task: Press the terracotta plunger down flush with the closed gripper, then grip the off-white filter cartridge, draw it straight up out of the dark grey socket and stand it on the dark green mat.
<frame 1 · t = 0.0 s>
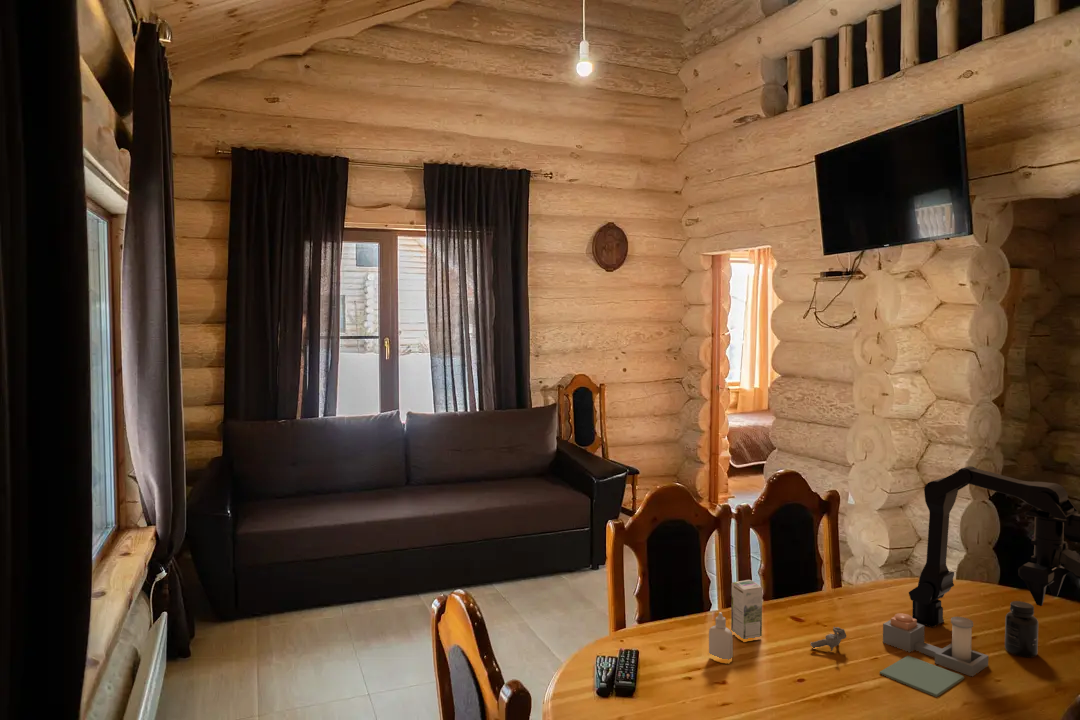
hand: (1047, 600, 175), 15 cm above the table, tool pointing down, fingers open, 9 cm apart
elephant figurine: (830, 652, 183), on the table
filter cartridge: (961, 664, 175), resting in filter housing
syrup box: (746, 638, 192), on the table
eye dropper bottle: (720, 661, 180), on the table
green mat: (921, 676, 170), on the table
plunger: (903, 627, 186), point 4 cm above the table, slide at 0.0 cm
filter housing: (961, 664, 175), on the table
supplement bottle: (1020, 652, 181), on the table
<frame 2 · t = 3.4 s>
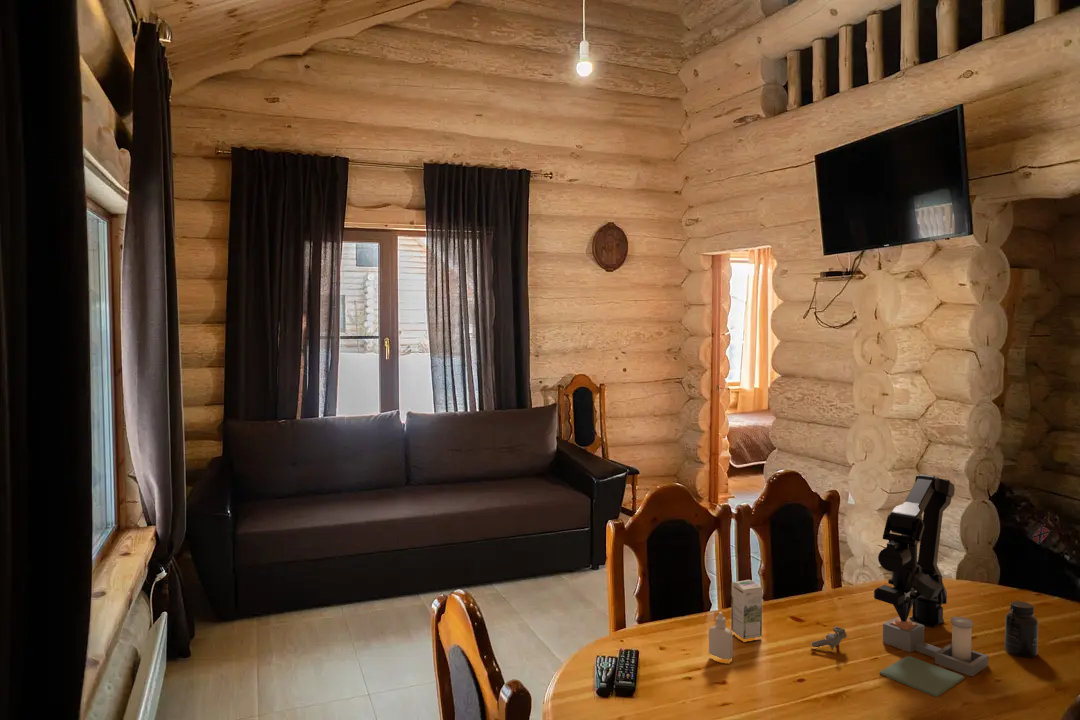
hand: (903, 620, 186), 6 cm above the table, tool pointing down, fingers closed, pressing on plunger
plunger: (903, 631, 186), point 3 cm above the table, slide at 1.1 cm, touching gripper
everything else where it was.
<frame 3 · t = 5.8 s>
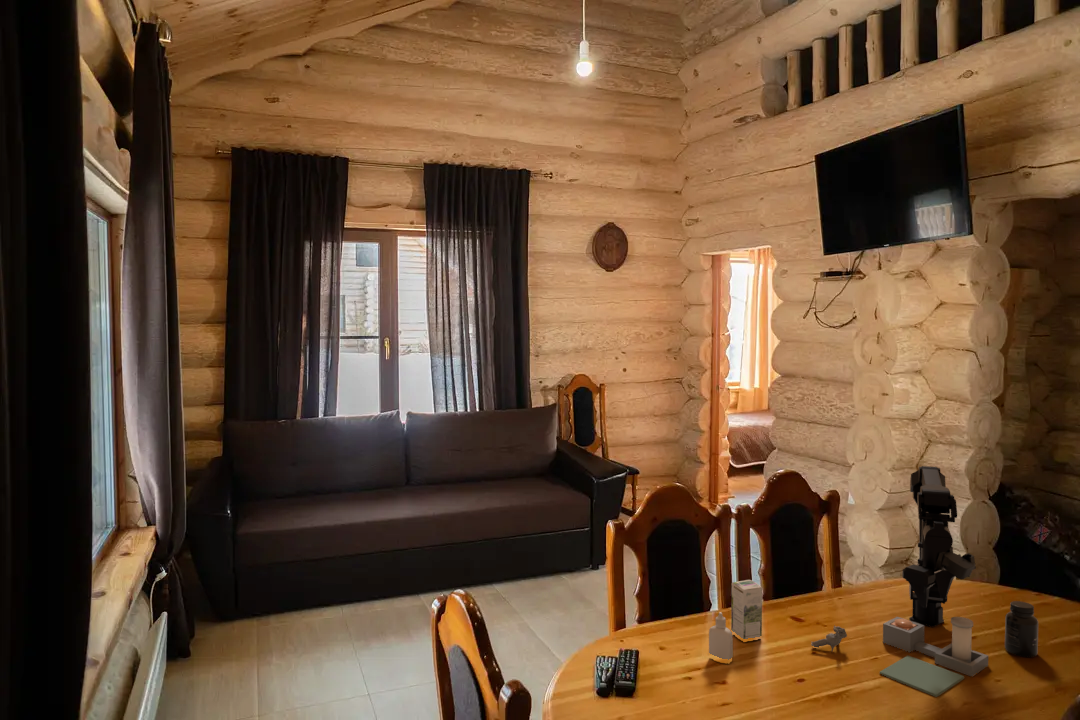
hand: (933, 602, 179), 13 cm above the table, tool pointing down, fingers open, 9 cm apart
plunger: (903, 632, 186), point 3 cm above the table, slide at 1.4 cm
everything else where it was.
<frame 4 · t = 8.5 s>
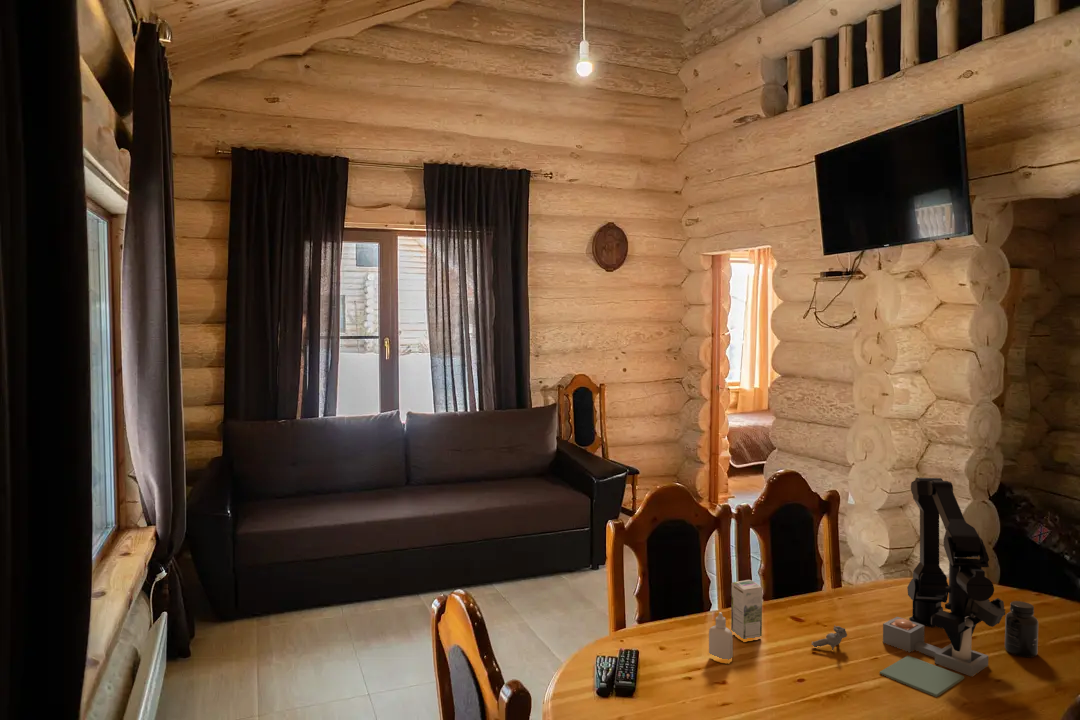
hand: (961, 648, 175), 4 cm above the table, tool pointing down, fingers closed on filter cartridge, 4 cm apart
filter cartridge: (961, 664, 175), resting in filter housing, touching gripper
everything else where it was.
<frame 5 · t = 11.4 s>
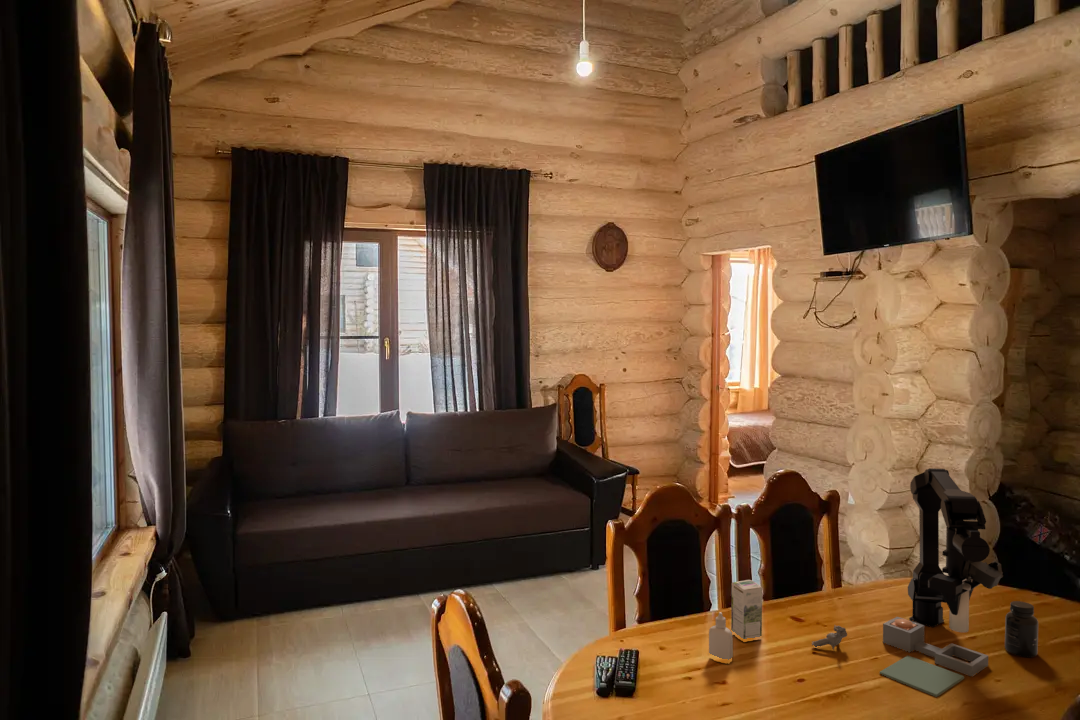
hand: (958, 612, 173), 13 cm above the table, tool pointing down, fingers closed on filter cartridge, 4 cm apart
filter cartridge: (958, 628, 174), point 9 cm above the table, touching gripper
everything else where it was.
when the fingers open (6 cm above the table, at t = 14.4 s): filter cartridge stays where it is, resting on green mat.
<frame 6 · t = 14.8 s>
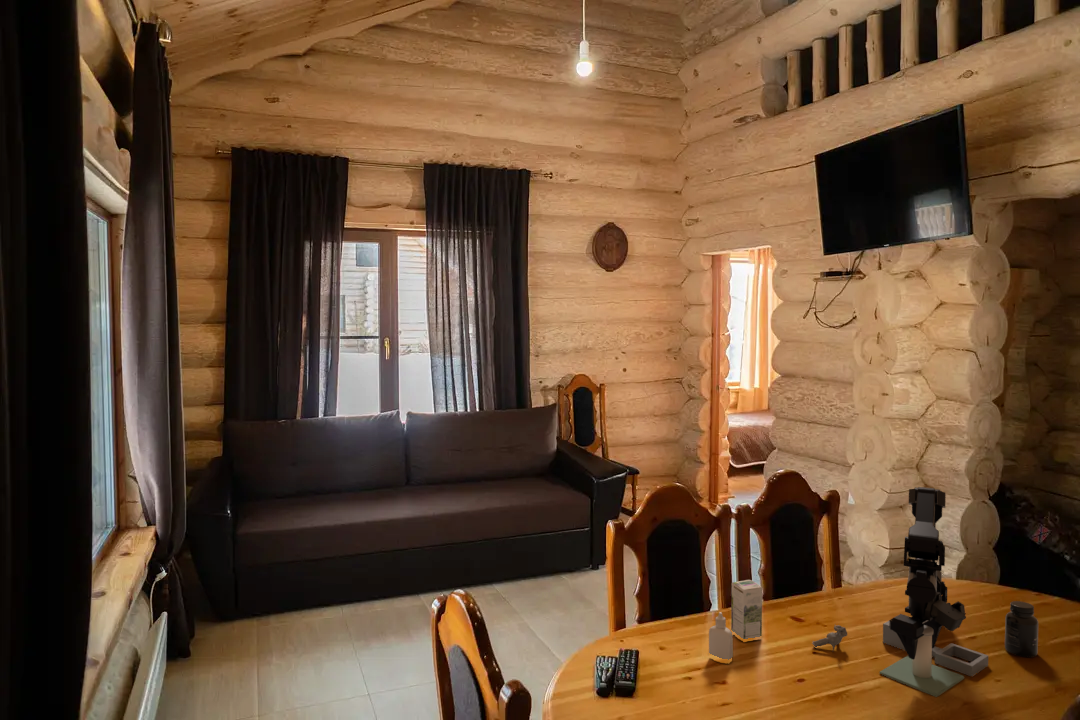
hand: (921, 653, 169), 6 cm above the table, tool pointing down, fingers open, 9 cm apart
filter cartridge: (921, 673, 170), point 1 cm above the table, touching green mat
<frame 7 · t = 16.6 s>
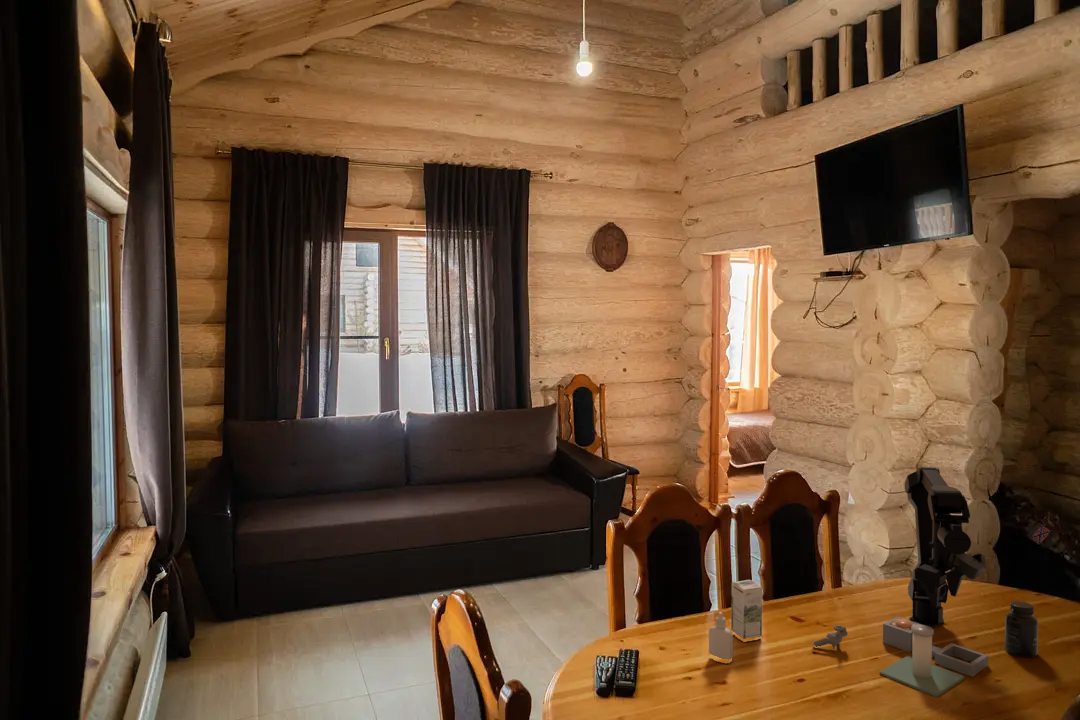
hand: (944, 600, 182), 13 cm above the table, tool pointing down, fingers open, 9 cm apart
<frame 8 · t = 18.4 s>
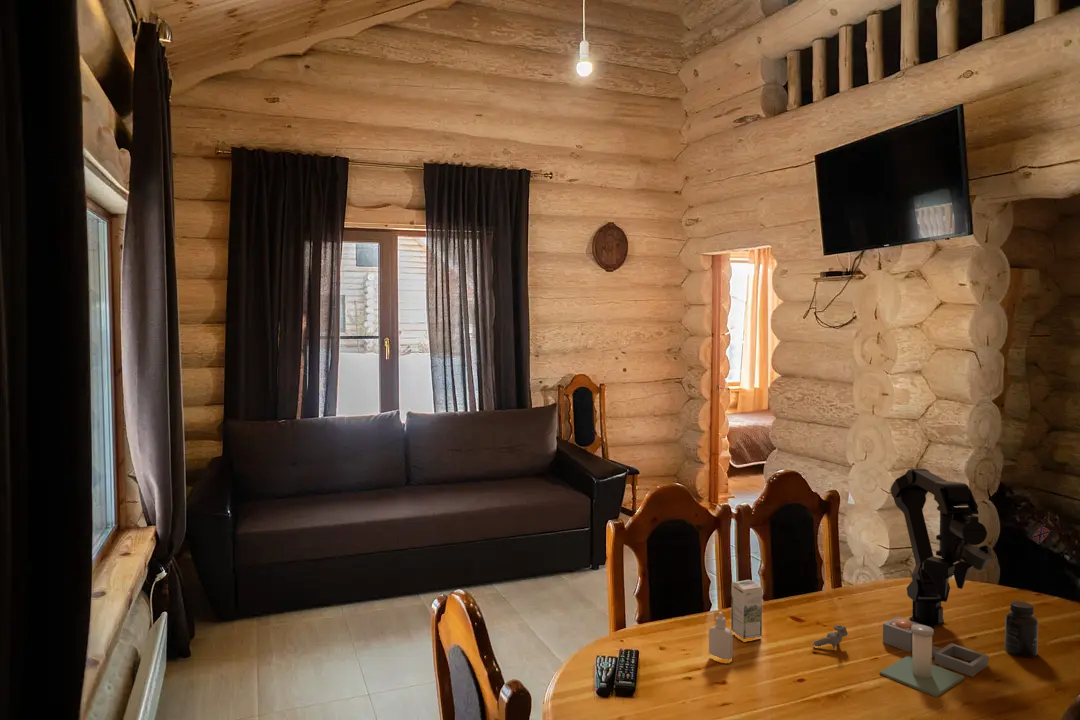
hand: (951, 592, 185), 13 cm above the table, tool pointing down, fingers open, 9 cm apart
at the end: plunger slide at 1.4 cm; filter cartridge inside the target area on the green mat (0.1 cm from its centre), point 0.6 cm above the green mat's base; filter cartridge tilted 0° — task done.
